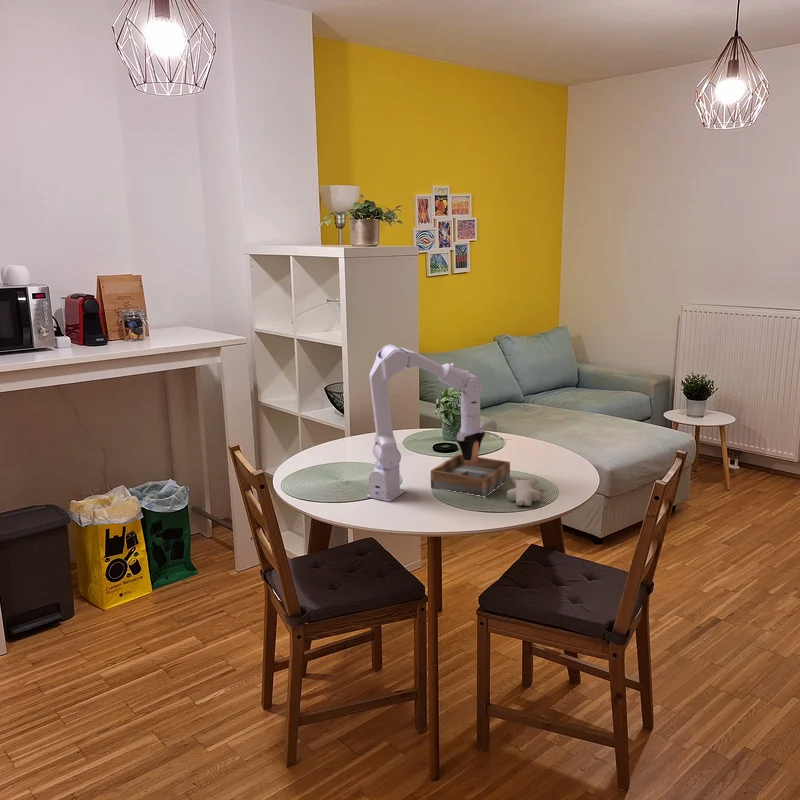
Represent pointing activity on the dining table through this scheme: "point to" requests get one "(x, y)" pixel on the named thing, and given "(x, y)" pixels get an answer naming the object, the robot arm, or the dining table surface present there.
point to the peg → (473, 456)
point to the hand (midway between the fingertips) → (470, 457)
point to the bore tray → (470, 475)
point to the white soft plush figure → (524, 491)
